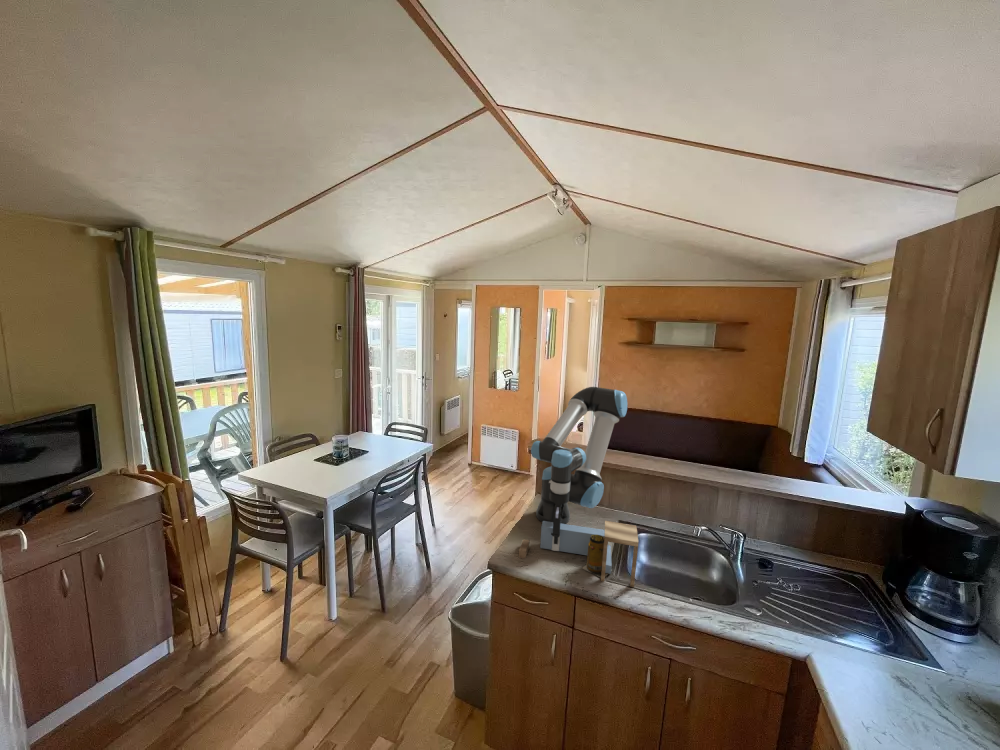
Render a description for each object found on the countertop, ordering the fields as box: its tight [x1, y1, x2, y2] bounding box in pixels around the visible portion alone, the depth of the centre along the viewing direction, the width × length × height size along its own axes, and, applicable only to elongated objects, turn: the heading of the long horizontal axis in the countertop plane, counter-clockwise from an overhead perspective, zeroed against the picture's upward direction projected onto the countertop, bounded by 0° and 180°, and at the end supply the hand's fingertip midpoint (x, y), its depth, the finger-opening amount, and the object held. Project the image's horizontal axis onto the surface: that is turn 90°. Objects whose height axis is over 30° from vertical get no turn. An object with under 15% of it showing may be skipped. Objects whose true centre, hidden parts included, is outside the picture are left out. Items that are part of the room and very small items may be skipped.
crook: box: [539, 521, 613, 575], centre depth 156 cm, size 14×26×9 cm, turn 77°
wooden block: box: [518, 538, 530, 559], centre depth 159 cm, size 8×2×3 cm, turn 166°
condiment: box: [581, 535, 613, 578], centre depth 149 cm, size 7×8×12 cm
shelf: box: [600, 520, 639, 588], centre depth 146 cm, size 12×11×17 cm
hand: (556, 546), depth 162 cm, fingers closed on crook, 4 cm apart
